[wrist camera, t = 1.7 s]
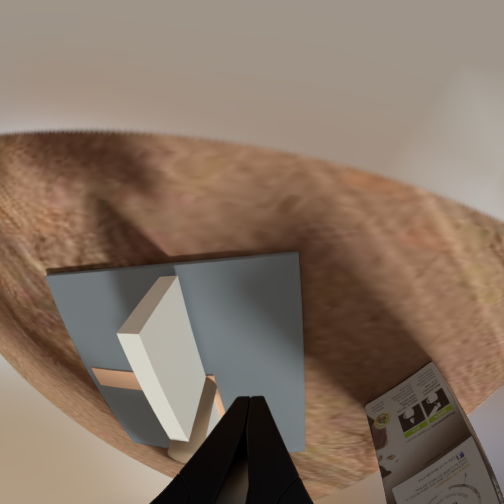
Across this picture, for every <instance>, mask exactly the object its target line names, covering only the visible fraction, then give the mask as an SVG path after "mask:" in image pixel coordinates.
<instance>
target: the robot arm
mask: <svg viewBox="0 0 504 504" xmlns="http://www.w3.org/2000/svg"><path fill="white" fill-rule="evenodd" d="M179 473H180V474H177V475H176V476H175V478H174V479H173V480H172V481H171V482H170V484H169V485H168V486H167V487H166V488H165V489H164V490H163V491H162V492H161V493H160V494H159V495H158V496H157V497H156V498H155V499H154V500H153V501H152V502H151V503H150V504H314V503H313V501H312V500H311V498H310V496H309V494H308V492H307V491H306V489H305V487H304V485H303V482H302V480H301V478H300V477H299V474H298V472H297V470H296V468H295V465H294V463H293V461H292V459H291V457H290V455H289V452H288V450H287V448H286V446H285V443H284V441H283V439H282V437H281V434H280V432H279V430H278V427H277V425H276V423H275V421H274V418H273V416H272V414H271V411H270V409H269V406H268V404H267V402H266V399H265V397H264V396H262V395H260V396H251V397H250V396H238V397H236V399H235V400H234V401H233V403H232V404H231V405H230V407H229V408H228V410H227V411H226V412H225V414H224V415H223V416H222V418H221V419H220V420H219V422H218V423H217V425H216V426H215V427H214V429H213V430H212V431H211V432H210V434H209V435H208V436H207V438H206V439H205V440H204V442H203V443H202V444H201V445H200V447H199V448H198V449H197V451H196V452H195V453H194V454H193V456H192V457H191V458H190V459H189V461H188V462H187V463H186V464H185V466H184V467H183V468H182V469H181V471H180V472H179Z"/></svg>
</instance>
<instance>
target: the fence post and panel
mask: <svg viewBox="0 0 504 504" xmlns="http://www.w3.org/2000/svg"><path fill="white" fill-rule="evenodd" d="M216 389H217V385H216V383H215V382H214V381H213V380H211V379H210V378H208V377H206V379H205V383H204V386H203V390H202V394H201V397H200V401H199V405H198V409H197V412H196V416H195V420H194V423H193V427H192V431H191V435H190V439H189V442H187V441H178V440H171V442H170V445H169V449H168V455H169V456H170V457H171V458H173V459H174V460H176V461H179V462H182V463H187V462H188V461H189V459H190V458H191V457H192V456H193V454H194V453H195V452H196V451H197V449H198V448H199V447H200V445H201V444H202V443H203V442H204V440H205V439H206V438H207V436H208V435H209V434H210V432H211V431H212V430H213V429H214V427H215V426H216V425H217V423H218V422H219V420H220V419H221V415H220V412H219V409H218V407H217V404H216V401H215V394H216Z"/></svg>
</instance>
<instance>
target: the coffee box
mask: <svg viewBox="0 0 504 504" xmlns="http://www.w3.org/2000/svg"><path fill="white" fill-rule="evenodd" d="M365 411H366V415H367V418H368V422H369V426H370V430H371V434H372V438H373V442H374V446H375V450H376V455H377V459H378V464H379V468H380V472H381V477H382V481H383V486H384V491H385V496H386V501H387V504H504V498H503V495H502V492H501V490H500V487H499V484H498V482H497V480H496V477H495V475H494V472H493V470H492V467H491V465H490V463H489V461H488V458H487V456H486V454H485V452H484V450H483V447H482V445H481V443H480V441H479V439H478V437H477V435H476V433H475V431H474V429H473V427H472V425H471V423H470V421H469V419H468V417H467V416H466V414H465V412H464V410H463V408H462V407H461V405H460V403H459V402H458V400H457V398H456V397H455V395H454V393H453V392H452V390H451V389H450V387H449V385H448V384H447V382H446V381H445V379H444V378H443V376H442V375H441V373H440V371H439V370H438V368H437V367H436V365H435V364H434V362H430V363H429V364H427V365H426V366H425V367H423V368H422V369H421V370H419V371H418V372H417V373H415V374H414V375H412V376H411V377H409V378H408V379H406V380H405V381H404V382H402V383H401V384H399V385H398V386H396V387H394V388H393V389H391V390H390V391H388V392H387V393H385V394H384V395H382V396H380V397H379V398H377V399H375V400H374V401H372V402H370V403H368V404H367V405H366V406H365Z"/></svg>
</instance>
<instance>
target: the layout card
mask: <svg viewBox="0 0 504 504" xmlns="http://www.w3.org/2000/svg"><path fill="white" fill-rule="evenodd" d="M177 275H178V279H179V283H180V287H181V291H182V295H183V299H184V303H185V307H186V310H187V314H188V318H189V321H190V325H191V329H192V332H193V336H194V339H195V343H196V346H197V349H198V353H199V356H200V359H201V363H202V366H203V369H204V372H205V376H206V377H208V378H210V379H211V380H213V381H214V382H215V383H216V385H217V389H216V394H215V401H216V404H217V407H218V409H219V412H220V415H221V418H222V416H223V415H224V414H225V412H226V411H227V410H228V408H229V407H230V405H231V404H232V403H233V401H234V400H235V399H236V397H238V396H250V397H251V396H260V395H262V396H264V397H265V399H266V402H267V404H268V406H269V409H270V411H271V414H272V416H273V418H274V421H275V423H276V425H277V427H278V430H279V432H280V434H281V437H282V439H283V441H284V443H285V446H286V448H287V450H288V452H301V451H305V379H304V344H303V319H302V299H301V282H300V267H299V253H298V251H292V252H282V253H271V254H261V255H250V256H239V257H229V258H218V259H207V260H196V261H185V262H174V263H164V264H153V265H142V266H131V267H119V268H108V269H97V270H86V271H75V272H63V273H52V274H48V275H47V276H46V279H47V282H48V284H49V287H50V290H51V293H52V295H53V298H54V300H55V303H56V305H57V308H58V310H59V313H60V315H61V317H62V320H63V322H64V324H65V326H66V329H67V331H68V333H69V335H70V337H71V339H72V341H73V344H74V346H75V348H76V350H77V352H78V354H79V356H80V357H81V359H82V361H83V363H84V365H85V367H86V369H87V371H88V372H89V374H90V376H91V378H92V380H93V381H94V383H95V385H96V386H97V388H98V390H99V391H100V393H101V395H102V396H103V398H104V400H105V401H106V403H107V404H108V406H109V408H110V409H111V411H112V412H113V414H114V415H115V417H116V418H117V420H118V421H119V423H120V424H121V425H122V427H123V428H124V430H125V431H126V432H127V434H128V435H129V437H130V438H131V439H132V441H133V442H134V443H139V444H144V445H150V446H156V447H163V448H169V445H170V442H171V440H170V438H169V436H168V435H167V433H166V432H165V430H164V428H163V426H162V425H161V423H160V421H159V420H158V418H157V416H156V414H155V412H154V411H153V409H152V407H151V405H150V403H149V401H148V400H147V398H146V396H145V394H144V392H143V390H142V388H141V386H140V384H139V382H138V380H137V378H136V376H135V374H134V372H133V370H132V367H131V365H130V363H129V361H128V359H127V357H126V354H125V352H124V350H123V348H122V345H121V343H120V341H119V338H118V336H117V332H118V331H119V329H120V328H121V327H122V325H123V324H124V323H125V321H126V320H127V319H128V317H129V316H130V315H131V313H132V312H133V311H134V309H135V308H136V307H137V305H138V304H139V303H140V301H141V300H142V299H143V298H144V296H145V295H146V294H147V292H148V291H149V290H150V289H151V287H152V286H153V285H154V283H155V282H156V281H157V280H158V278H159V277H164V276H177Z"/></svg>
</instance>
